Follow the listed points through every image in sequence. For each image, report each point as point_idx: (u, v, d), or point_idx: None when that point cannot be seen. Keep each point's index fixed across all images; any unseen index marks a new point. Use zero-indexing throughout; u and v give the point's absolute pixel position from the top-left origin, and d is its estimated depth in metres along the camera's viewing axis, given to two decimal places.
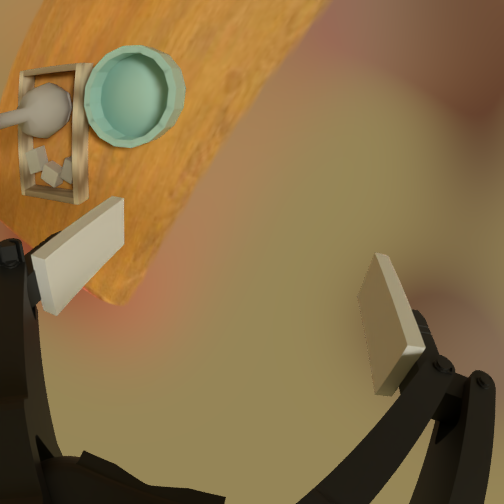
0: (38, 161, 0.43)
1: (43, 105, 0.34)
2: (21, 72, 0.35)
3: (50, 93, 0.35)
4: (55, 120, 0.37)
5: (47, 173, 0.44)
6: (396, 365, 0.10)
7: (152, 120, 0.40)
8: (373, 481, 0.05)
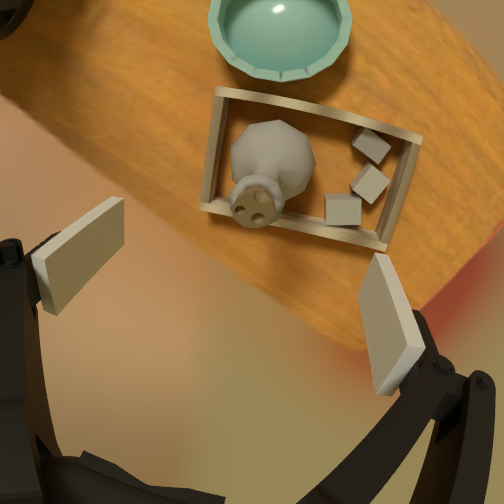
0: (346, 199, 0.34)
1: (263, 137, 0.28)
2: (201, 207, 0.36)
3: (247, 132, 0.30)
4: (292, 131, 0.29)
5: (367, 187, 0.33)
6: (396, 365, 0.10)
7: (317, 5, 0.26)
8: (373, 481, 0.05)
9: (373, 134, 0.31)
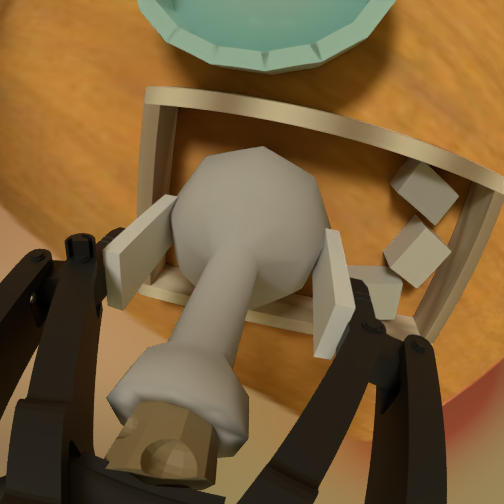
0: (378, 283, 0.20)
1: (225, 189, 0.14)
2: (141, 291, 0.22)
3: (198, 175, 0.15)
4: (287, 172, 0.15)
5: (414, 263, 0.19)
6: (328, 325, 0.11)
7: None
8: (325, 448, 0.06)
9: (433, 173, 0.16)
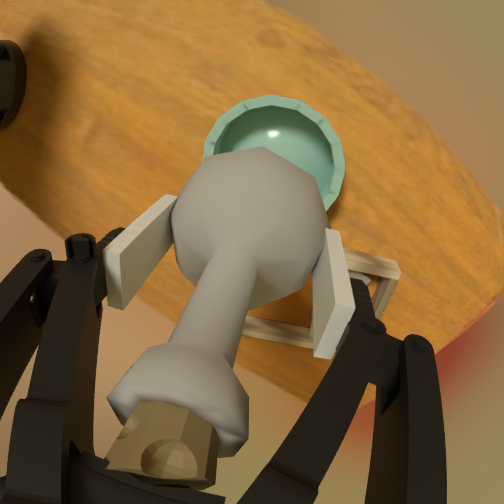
0: None
1: (225, 189, 0.14)
2: None
3: (198, 175, 0.15)
4: (287, 173, 0.15)
5: None
6: (328, 325, 0.11)
7: (312, 141, 0.32)
8: (325, 448, 0.06)
9: (356, 271, 0.36)
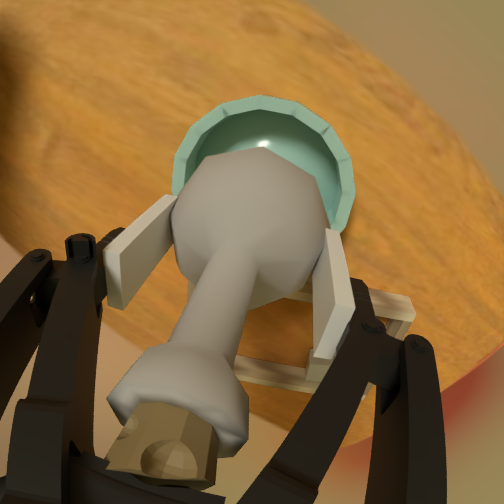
0: (329, 365, 0.33)
1: (225, 190, 0.14)
2: None
3: (198, 175, 0.15)
4: (287, 173, 0.15)
5: None
6: (328, 325, 0.11)
7: (313, 155, 0.25)
8: (325, 448, 0.06)
9: None
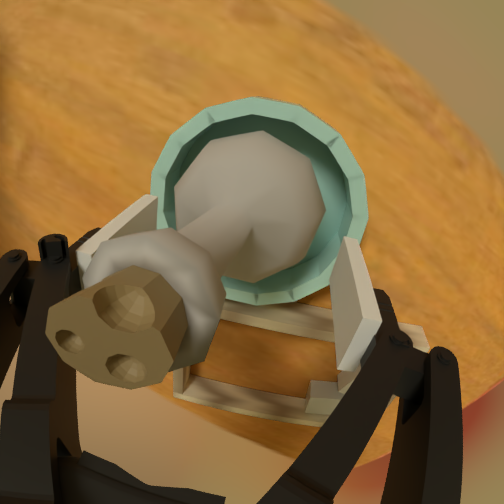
0: (332, 398, 0.29)
1: (225, 156, 0.15)
2: (175, 395, 0.31)
3: None
4: (283, 149, 0.16)
5: None
6: (354, 338, 0.11)
7: (317, 170, 0.21)
8: (344, 459, 0.06)
9: None
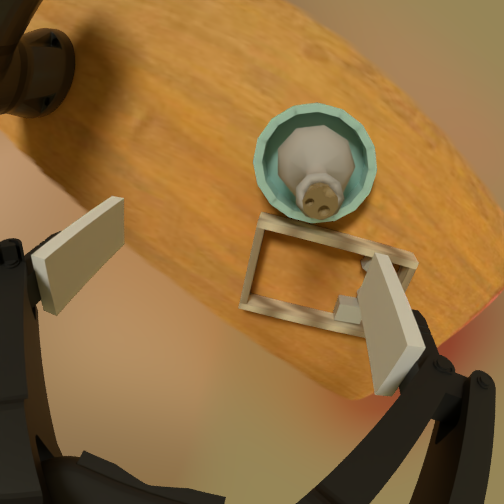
0: (354, 306, 0.44)
1: (312, 140, 0.30)
2: (240, 306, 0.46)
3: (296, 135, 0.32)
4: (336, 136, 0.32)
5: None
6: (396, 365, 0.10)
7: None
8: (373, 481, 0.05)
9: None
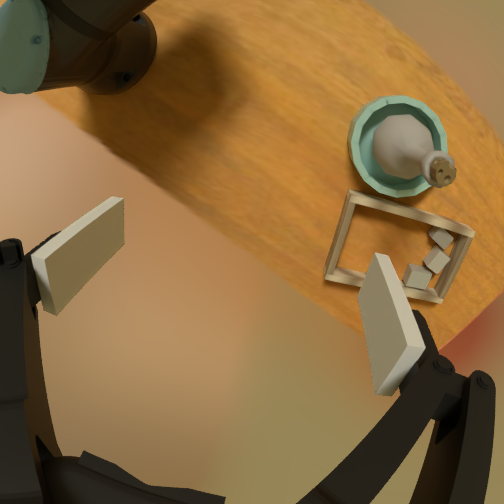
0: (423, 272, 0.47)
1: (408, 126, 0.33)
2: (326, 277, 0.49)
3: (392, 121, 0.35)
4: (421, 124, 0.34)
5: (436, 264, 0.46)
6: (396, 365, 0.10)
7: None
8: (373, 481, 0.05)
9: (445, 231, 0.44)
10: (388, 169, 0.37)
